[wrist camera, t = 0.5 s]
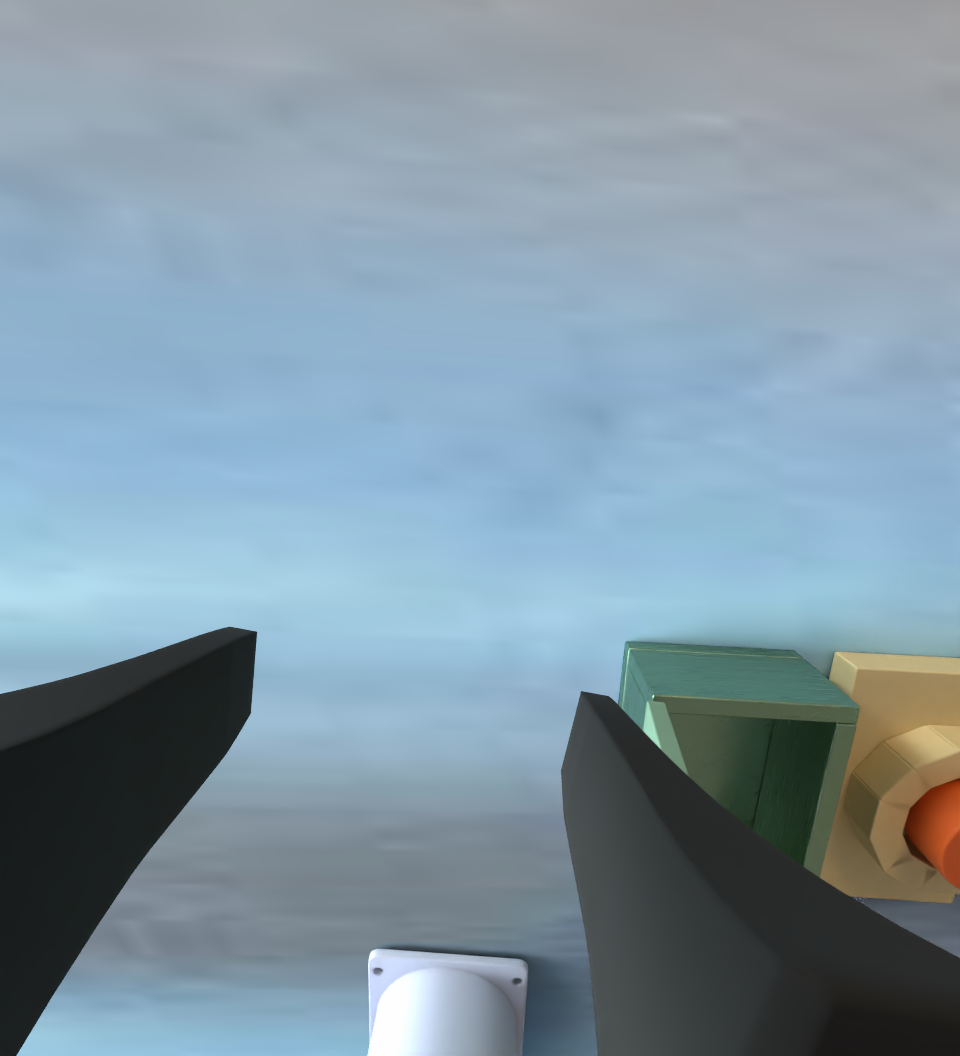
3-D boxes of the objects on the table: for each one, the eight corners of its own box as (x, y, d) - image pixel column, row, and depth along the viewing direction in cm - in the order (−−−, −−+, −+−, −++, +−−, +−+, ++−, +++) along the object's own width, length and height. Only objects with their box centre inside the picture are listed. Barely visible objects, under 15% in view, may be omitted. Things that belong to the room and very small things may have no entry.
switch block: (945, 876, 24) (1008, 943, 21) (785, 866, 24) (825, 930, 21) (1014, 660, 21) (1097, 702, 18) (834, 650, 21) (887, 690, 18)
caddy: (794, 649, 21) (862, 706, 17) (744, 896, 24) (791, 993, 20) (624, 640, 21) (652, 695, 17) (596, 886, 24) (614, 980, 20)
